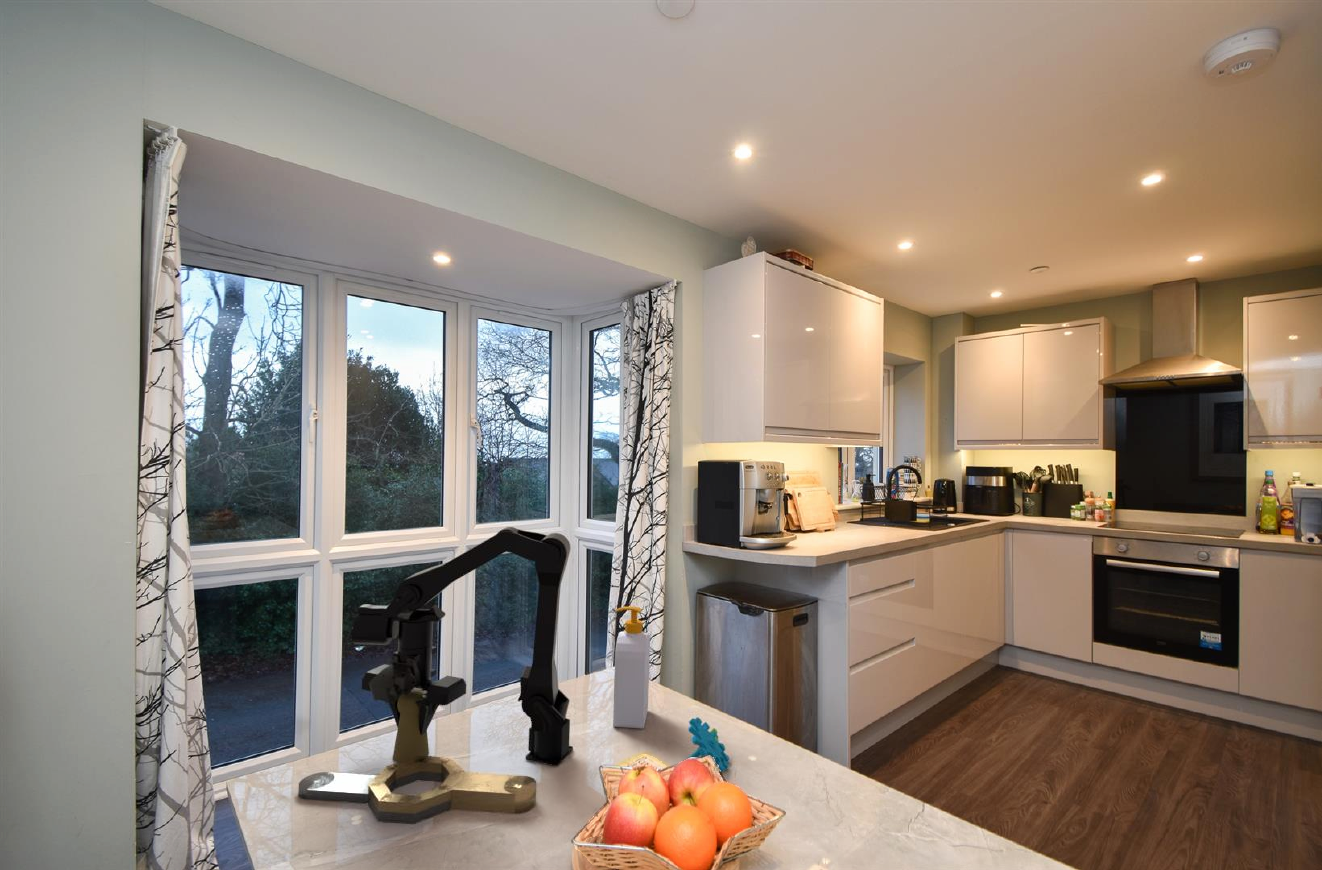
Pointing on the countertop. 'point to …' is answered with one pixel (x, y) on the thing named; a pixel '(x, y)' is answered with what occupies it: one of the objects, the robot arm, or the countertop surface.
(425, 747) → the cork
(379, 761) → the countertop surface
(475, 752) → the countertop surface
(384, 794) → the upper chain end
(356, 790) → the lower chain end
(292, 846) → the countertop surface
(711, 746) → the teal irregular branched piece
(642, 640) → the soap bottle
